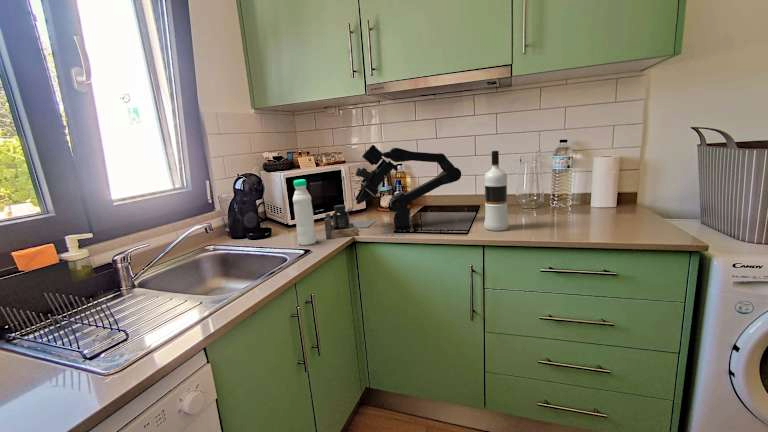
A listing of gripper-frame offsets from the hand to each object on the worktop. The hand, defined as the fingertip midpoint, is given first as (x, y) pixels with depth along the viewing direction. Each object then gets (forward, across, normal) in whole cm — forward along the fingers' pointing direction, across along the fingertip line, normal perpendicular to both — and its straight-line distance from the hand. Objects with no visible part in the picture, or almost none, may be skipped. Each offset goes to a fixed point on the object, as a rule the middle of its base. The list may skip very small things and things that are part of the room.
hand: (356, 201), depth 155 cm
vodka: (-28, +18, +46) cm, 57 cm away
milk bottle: (+24, +9, -6) cm, 26 cm away
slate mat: (+9, -13, +10) cm, 18 cm away
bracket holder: (+14, 0, +4) cm, 15 cm away
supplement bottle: (+14, 0, +4) cm, 15 cm away
